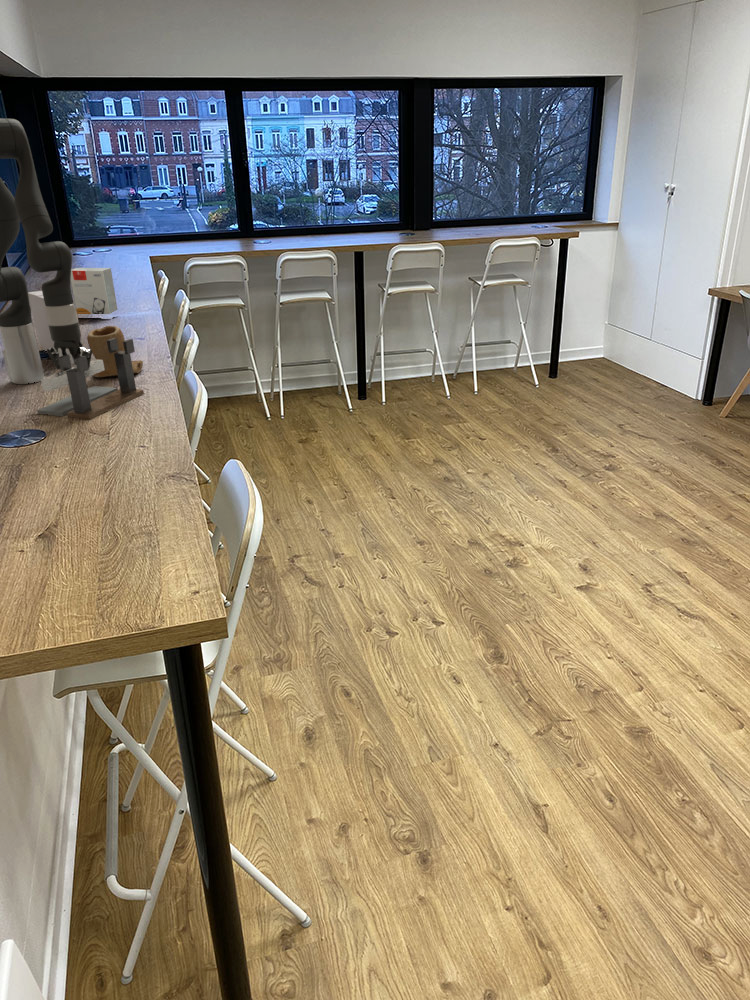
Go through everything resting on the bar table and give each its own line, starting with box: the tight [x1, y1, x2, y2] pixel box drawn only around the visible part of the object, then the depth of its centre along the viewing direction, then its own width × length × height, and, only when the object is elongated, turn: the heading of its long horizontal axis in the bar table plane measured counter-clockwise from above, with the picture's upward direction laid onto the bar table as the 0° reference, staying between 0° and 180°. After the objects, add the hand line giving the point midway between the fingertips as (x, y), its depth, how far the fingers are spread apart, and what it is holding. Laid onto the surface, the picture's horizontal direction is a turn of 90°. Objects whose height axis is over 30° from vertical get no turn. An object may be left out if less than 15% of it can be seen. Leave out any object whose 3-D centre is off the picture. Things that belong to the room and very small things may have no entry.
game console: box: [28, 290, 83, 352], centre depth 254 cm, size 6×27×20 cm, turn 41°
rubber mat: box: [36, 385, 118, 417], centre depth 207 cm, size 8×23×1 cm, turn 160°
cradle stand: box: [57, 338, 145, 420], centre depth 201 cm, size 7×23×16 cm, turn 160°
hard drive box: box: [71, 267, 119, 314], centre depth 312 cm, size 16×8×20 cm, turn 81°
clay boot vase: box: [86, 325, 144, 378], centre depth 229 cm, size 15×12×15 cm
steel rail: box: [40, 358, 105, 392], centre depth 204 cm, size 3×21×3 cm, turn 160°
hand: (76, 384), depth 206 cm, fingers closed on steel rail, 3 cm apart
